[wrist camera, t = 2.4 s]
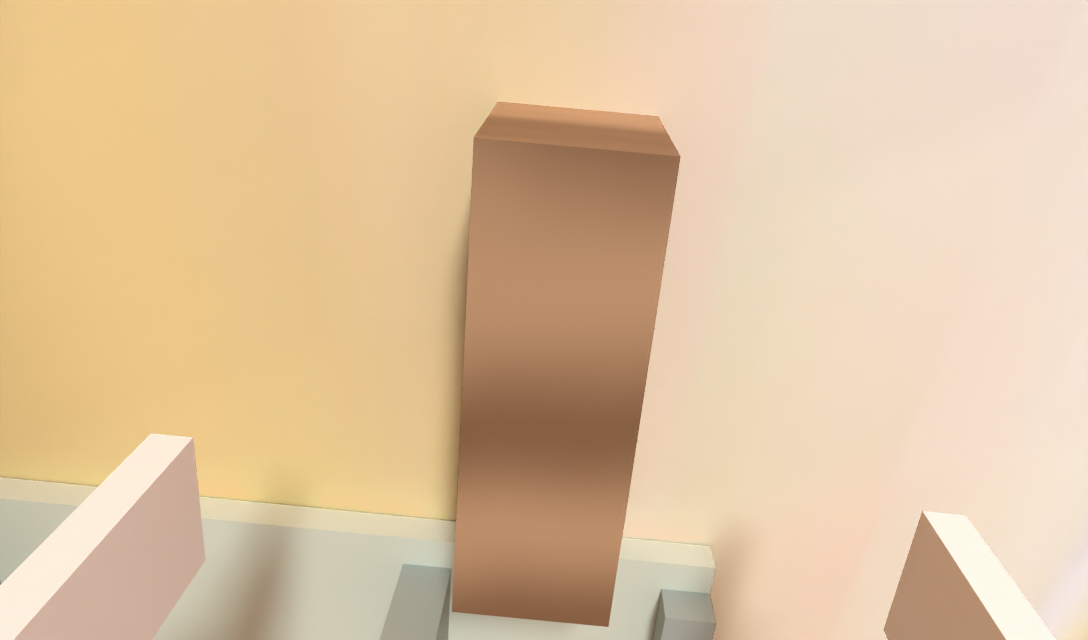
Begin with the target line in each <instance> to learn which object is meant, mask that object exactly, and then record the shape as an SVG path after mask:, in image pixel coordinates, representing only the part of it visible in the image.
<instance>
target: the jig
mask: <svg viewBox="0 0 1088 640" xmlns="http://www.w3.org/2000/svg"><path fill="white" fill-rule="evenodd" d="M96 488H97V486H87V485H76V484H66V483H56V482H46V481H35V480H25V479H15V478H4V477H0V585H1V584H2V583H3V582H4V581H5V580H6V579H7V578H8V577H9V576H10V575H11V574H12V573H13V572H14V571H15V570H16V569H17V568H18V567H19V566H20V565H21V564H22V563H23V562H24V561H25V560H26V559H27V558H28V557H29V556H30V555H31V554H32V553H33V552H34V551H35V550H36V549H37V548H38V547H39V546H40V545H41V544H42V543H43V542H44V541H45V540H46V539H47V538H48V537H49V536H50V535H51V534H52V533H53V532H54V531H55V530H56V529H57V528H58V527H59V526H60V525H61V524H62V523H63V522H64V521H65V520H66V519H67V518H68V517H69V516H70V515H71V514H72V513H73V512H74V511H75V510H76V509H77V508H78V507H79V506H80V505H81V504H82V503H83V502H84V501H85V500H86V498H87V497H88V496H89V495H90V494H91V493H92V492H93V491H94V490H95V489H96ZM199 500H200V510H201V520H202V530H203V540H204V549H205V559H206V560H205V562H204V563H203V565H202V566H201V568H200V569H199V571H198V572H197V574H196V575H195V577H194V578H193V580H192V581H191V583H190V584H189V586H188V587H187V588H186V590H185V591H184V593H183V594H182V596H181V597H180V599H179V600H178V602H177V603H176V605H175V606H174V608H173V609H172V611H171V612H170V614H169V615H168V617H167V618H166V620H165V621H164V623H163V624H162V626H161V627H160V629H159V630H158V631H157V633H156V634H155V636H154V637H153V639H152V640H712V639H713V635H714V630H715V626H716V620H715V615H714V610H713V605H712V600H711V596H710V592H711V587H712V582H713V578H714V573H715V569H716V567H715V563H714V559H713V554H712V550H711V546H704V545H694V544H684V543H673V542H663V541H653V540H642V539H632V538H622V542H621V548H620V555H619V561H618V568H617V574H616V581H615V587H614V594H613V601H612V607H611V614H610V620H609V627H603V626H593V625H582V624H572V623H562V622H551V621H541V620H530V619H520V618H510V617H499V616H489V615H478V614H468V613H458V612H452V597H453V576H454V554H455V533H456V521H447V520H437V519H426V518H416V517H406V516H395V515H385V514H375V513H365V512H354V511H344V510H334V509H323V508H313V507H303V506H293V505H282V504H272V503H262V502H251V501H241V500H231V499H220V498H210V497H200V496H199Z"/></svg>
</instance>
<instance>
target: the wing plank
mask: <svg viewBox="0 0 1088 640" xmlns="http://www.w3.org/2000/svg"><path fill="white" fill-rule="evenodd" d="M679 162H680V155H679V153H678V151H677V150H676V148H675V146H674V144H673V142H672V141H671V139H670V137H669V135H668V133H667V132H666V130H665V128H664V126H663V124H662V123H661V121H660V119H659V117H658V116H648V115H637V114H626V113H615V112H604V111H593V110H582V109H572V108H561V107H550V106H539V105H528V104H517V103H506V102H498V103H497V104H496V106H495V107H494V109H493V110H492V112H491V113H490V115H489V116H488V117H487V119H486V120H485V122H484V123H483V125H482V126H481V128H480V129H479V131H478V132H477V134H476V135H475V137H474V146H473V167H472V189H471V210H470V232H469V253H468V275H467V296H466V318H465V339H464V361H463V382H462V404H461V425H460V447H459V468H458V490H457V511H456V533H455V554H454V576H453V597H452V612H458V613H468V614H478V615H489V616H499V617H510V618H520V619H530V620H541V621H551V622H562V623H572V624H582V625H593V626H603V627H609V620H610V614H611V607H612V601H613V594H614V587H615V581H616V574H617V568H618V561H619V555H620V548H621V542H622V535H623V529H624V522H625V516H626V509H627V502H628V496H629V489H630V483H631V476H632V470H633V463H634V457H635V450H636V444H637V437H638V431H639V424H640V417H641V411H642V404H643V398H644V391H645V385H646V378H647V372H648V365H649V359H650V352H651V346H652V339H653V332H654V326H655V319H656V313H657V306H658V300H659V293H660V287H661V280H662V274H663V267H664V261H665V254H666V247H667V241H668V234H669V228H670V221H671V215H672V208H673V202H674V195H675V189H676V182H677V176H678V169H679Z"/></svg>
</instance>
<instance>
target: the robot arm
mask: <svg viewBox="0 0 1088 640" xmlns="http://www.w3.org/2000/svg"><path fill="white" fill-rule="evenodd" d="M205 560H206V559H205V549H204V540H203V530H202V520H201V510H200V500H199V491H198V481H197V471H196V461H195V451H194V442H193V438H191V437H181V436H171V435H161V434H152V433H151V434H150V435H149V436H148V437H147V438H146V439H145V440H144V441H143V442H142V443H141V444H140V445H139V446H138V447H137V448H136V449H135V450H134V451H133V452H132V453H131V454H130V455H129V456H128V457H127V458H126V459H125V460H124V461H123V462H122V463H121V464H120V465H119V466H118V467H117V468H116V469H115V470H114V471H113V472H112V473H111V474H110V475H109V476H108V477H107V478H106V479H105V480H104V481H103V482H102V483H101V484H100V485H99V486H98V487H97V488H96V489H95V490H94V491H93V492H92V493H91V494H90V495H89V496H88V497H87V498H86V500H85V501H84V502H83V503H82V504H81V505H80V506H79V507H78V508H77V509H76V510H75V511H74V512H73V513H72V514H71V515H70V516H69V517H68V518H67V519H66V520H65V521H64V522H63V523H62V524H61V525H60V526H59V527H58V528H57V529H56V530H55V531H54V532H53V533H52V534H51V535H50V536H49V537H48V538H47V539H46V540H45V541H44V542H43V543H42V544H41V545H40V546H39V547H38V548H37V549H36V550H35V551H34V552H33V553H32V554H31V555H30V556H29V557H28V558H27V559H26V560H25V561H24V562H23V563H22V564H21V565H20V566H19V567H18V568H17V569H16V570H15V571H14V572H13V573H12V574H11V575H10V576H9V577H8V578H7V579H6V580H5V581H4V582H3V583H2V584H1V585H0V640H152V639H153V637H154V636H155V634H156V633H157V631H158V630H159V629H160V627H161V626H162V624H163V623H164V621H165V620H166V618H167V617H168V615H169V614H170V612H171V611H172V609H173V608H174V606H175V605H176V603H177V602H178V600H179V599H180V597H181V596H182V594H183V593H184V591H185V590H186V588H187V587H188V586H189V584H190V583H191V581H192V580H193V578H194V577H195V575H196V574H197V572H198V571H199V569H200V568H201V566H202V565H203V563H204V562H205ZM884 632H885V634H886V636H887V638H888V640H1056V639H1055V637H1054V636H1053V635H1052V633H1051V632H1050V631H1049V629H1048V628H1047V626H1046V625H1045V624H1044V622H1043V621H1042V620H1041V618H1040V617H1039V615H1038V614H1037V613H1036V611H1035V610H1034V609H1033V607H1032V606H1031V604H1030V603H1029V602H1028V600H1027V599H1026V598H1025V596H1024V595H1023V593H1022V592H1021V591H1020V589H1019V588H1018V587H1017V585H1016V584H1015V582H1014V581H1013V580H1012V578H1011V577H1010V576H1009V574H1008V573H1007V571H1006V570H1005V569H1004V567H1003V566H1002V565H1001V563H1000V562H999V561H998V559H997V558H996V556H995V555H994V554H993V552H992V551H991V550H990V548H989V547H988V545H987V544H986V543H985V541H984V540H983V539H982V537H981V536H980V534H979V533H978V532H977V530H976V529H975V528H974V526H973V525H972V523H971V522H970V521H969V519H968V518H967V517H966V515H958V514H948V513H938V512H928V511H922V514H921V517H920V520H919V523H918V526H917V529H916V532H915V535H914V538H913V541H912V544H911V547H910V550H909V554H908V557H907V560H906V563H905V566H904V569H903V572H902V575H901V578H900V581H899V584H898V587H897V590H896V593H895V596H894V599H893V602H892V605H891V609H890V612H889V615H888V618H887V621H886V624H885V627H884Z"/></svg>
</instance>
